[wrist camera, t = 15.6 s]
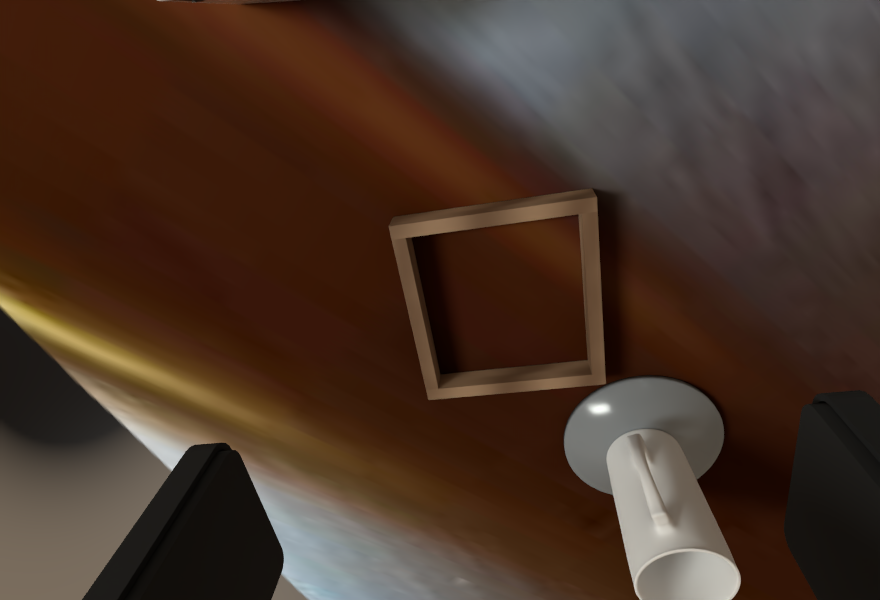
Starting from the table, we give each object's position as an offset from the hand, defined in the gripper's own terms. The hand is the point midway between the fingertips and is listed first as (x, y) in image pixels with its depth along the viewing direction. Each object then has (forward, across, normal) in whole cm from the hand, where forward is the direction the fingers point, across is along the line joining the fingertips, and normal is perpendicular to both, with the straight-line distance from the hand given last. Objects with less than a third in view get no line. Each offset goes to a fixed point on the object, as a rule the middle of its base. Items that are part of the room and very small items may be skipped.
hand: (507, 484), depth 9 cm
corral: (+30, +1, +12) cm, 33 cm away
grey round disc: (+30, -9, +27) cm, 42 cm away
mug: (+30, -9, +27) cm, 41 cm away
